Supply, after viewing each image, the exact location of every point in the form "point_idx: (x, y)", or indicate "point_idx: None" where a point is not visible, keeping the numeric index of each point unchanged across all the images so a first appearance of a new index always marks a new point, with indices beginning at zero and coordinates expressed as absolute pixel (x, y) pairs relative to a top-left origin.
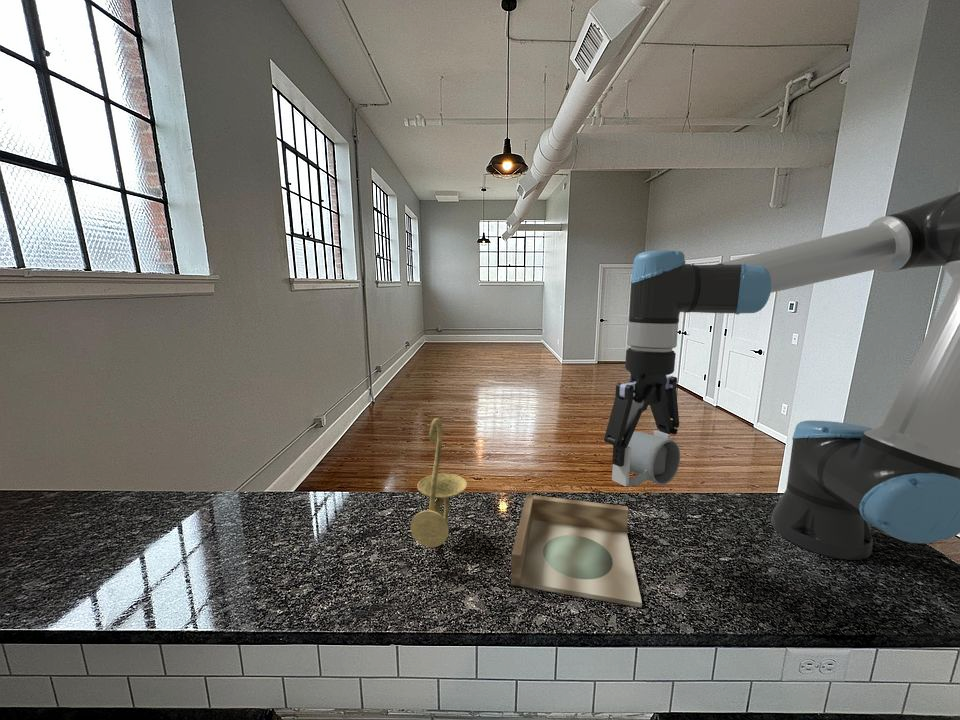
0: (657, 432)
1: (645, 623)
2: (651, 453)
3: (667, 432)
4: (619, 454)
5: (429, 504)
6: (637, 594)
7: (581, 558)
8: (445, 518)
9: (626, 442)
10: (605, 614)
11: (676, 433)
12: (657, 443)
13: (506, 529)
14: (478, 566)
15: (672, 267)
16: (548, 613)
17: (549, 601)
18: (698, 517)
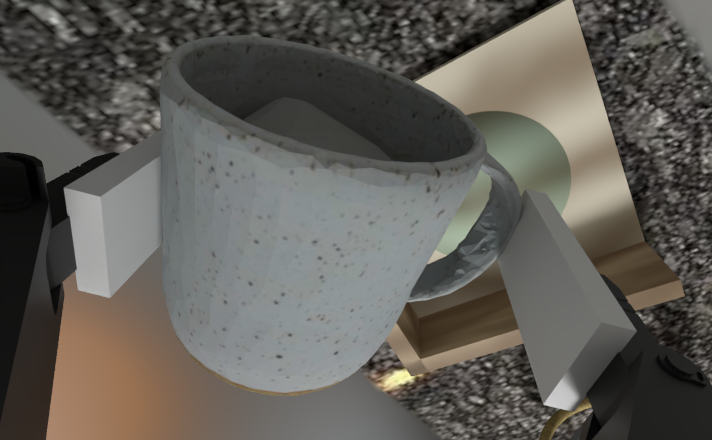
0: (109, 272)
1: None
2: (458, 192)
3: (53, 217)
4: (647, 335)
5: None
6: (544, 19)
7: (488, 181)
8: (553, 429)
9: (682, 383)
10: (635, 58)
11: (4, 153)
12: (387, 205)
13: None
14: None
15: None
16: (693, 156)
17: (655, 171)
18: (49, 8)
